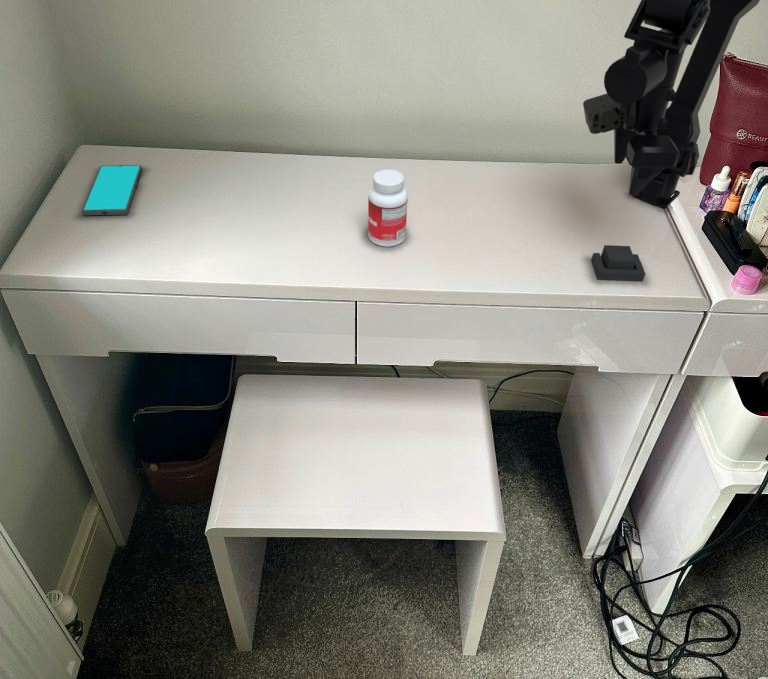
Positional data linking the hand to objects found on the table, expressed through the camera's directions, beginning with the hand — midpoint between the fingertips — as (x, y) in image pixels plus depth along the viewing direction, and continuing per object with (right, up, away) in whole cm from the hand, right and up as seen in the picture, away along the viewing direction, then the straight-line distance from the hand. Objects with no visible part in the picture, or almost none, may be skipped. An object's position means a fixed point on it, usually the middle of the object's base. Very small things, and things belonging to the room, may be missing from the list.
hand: (624, 178), depth 108 cm
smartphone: (-84, +1, +14) cm, 85 cm away
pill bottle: (-37, -8, +7) cm, 38 cm away
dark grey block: (-1, -14, +2) cm, 14 cm away
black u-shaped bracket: (-1, -14, +2) cm, 14 cm away
